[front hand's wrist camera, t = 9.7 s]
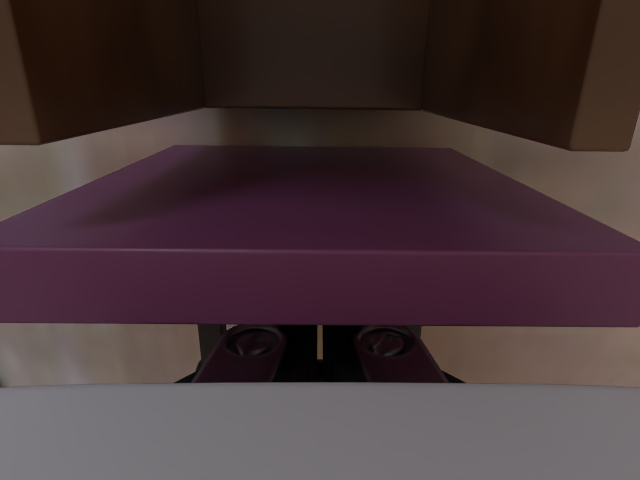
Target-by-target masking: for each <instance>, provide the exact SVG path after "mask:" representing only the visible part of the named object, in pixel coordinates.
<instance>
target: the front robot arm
mask: <svg viewBox="0 0 640 480" xmlns="http://www.w3.org/2000/svg"><path fill="white" fill-rule="evenodd" d="M0 480H640V388H637V387H621V386H593V385H556V384H486V383H465V382H463V381H461V380H459V379H457V378H455V377H453V376H452V375H450V374H448V373H446V372H444V371H442V370H441V369H440V368H439V366H438V365H437V363H436V362H435V360H434V359H433V357H432V355H431V354H430V352H429V351H428V349H427V348H426V346H425V345H424V343H423V342H422V340H421V339H420V337H419V336H418V335H417V334H416V333H415V332H414V331H413V330H411V329H410V328H408V327H406V326H390V325H323V382H317V325H248V324H240V325H237V326H234V327H232V328H230V329H229V330H227V331H226V332H225V333H224V334H223V335H222V336H221V337H220V339H219V340H218V342H217V343H216V345H215V346H214V348H213V349H212V351H211V352H210V354H209V355H208V357H207V359H206V360H205V362H204V363H203V365H202V366H201V368H200V369H199V370H198V371H196V372H194V373H192V374H190V375H188V376H186V377H185V378H183V379H181V380H179V381H177V382H175V383H156V384H80V385H48V386H17V387H3V388H0Z"/></svg>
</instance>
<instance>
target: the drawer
mask: <svg viewBox="0 0 640 480" xmlns="http://www.w3.org/2000/svg"><path fill="white" fill-rule="evenodd" d="M202 108H250V109H334V110H418V111H425V112H428V113H432V114H436V115H439V116H443V117H447V118H451V119H454V120H458V121H462V122H465V123H469V124H473V125H476V126H480V127H484V128H487V129H491V130H495V131H499V132H502V133H506V134H510V135H513V136H517V137H521V138H524V139H528V140H532V141H536V142H539V143H543V144H547V145H550V146H554V147H558V148H561V149H565V150H569V151H602V152H624V151H627V150H628V149H629V148H630V145H631V141H632V137H633V133H634V130H635V126H636V122H637V119H638V115H639V111H640V0H0V145H42V144H47V143H51V142H56V141H60V140H65V139H69V138H73V137H78V136H82V135H87V134H91V133H96V132H100V131H104V130H109V129H113V128H118V127H122V126H127V125H131V124H136V123H140V122H144V121H149V120H153V119H158V118H162V117H167V116H171V115H175V114H180V113H184V112H189V111H193V110H198V109H202ZM0 323H105V324H198V332H199V341H200V351H201V360H200V361H199V363H198V366H197V368H196V371H198V370H199V369H200V368H201V366H202V365H203V363H204V362H205V360H206V359H207V357H208V355H209V354H210V352H211V351H212V349H213V348H214V346H215V345H216V343H217V342H218V340H219V339H220V337H221V336H222V335H223V334H224V333H225V332H226V331H227V330H226V324H248V325H390V326H406V327H408V328H410V329H411V330H413V331H414V332H415V333H416V334H417V335H418V336H419V337H420V336H421V327H422V326H533V327H639V326H640V242H639V241H637V240H635V239H633V238H631V237H629V236H627V235H625V234H623V233H621V232H619V231H617V230H615V229H613V228H611V227H609V226H607V225H605V224H603V223H601V222H599V221H597V220H595V219H593V218H590V217H588V216H586V215H584V214H582V213H580V212H578V211H576V210H574V209H572V208H570V207H568V206H566V205H564V204H562V203H560V202H558V201H556V200H554V199H552V198H550V197H548V196H546V195H544V194H542V193H540V192H538V191H536V190H534V189H532V188H530V187H528V186H526V185H524V184H522V183H520V182H518V181H516V180H514V179H512V178H510V177H508V176H506V175H504V174H501V173H499V172H497V171H495V170H493V169H491V168H489V167H487V166H485V165H483V164H481V163H479V162H477V161H475V160H473V159H471V158H469V157H467V156H465V155H463V154H461V153H459V152H457V151H455V150H453V149H451V148H370V147H279V146H189V145H174V146H172V147H170V148H167V149H165V150H163V151H161V152H158V153H156V154H154V155H152V156H149V157H147V158H145V159H142V160H140V161H138V162H136V163H133V164H131V165H129V166H127V167H124V168H122V169H120V170H117V171H115V172H113V173H111V174H108V175H106V176H104V177H102V178H99V179H97V180H95V181H92V182H90V183H88V184H86V185H83V186H81V187H79V188H77V189H74V190H72V191H70V192H67V193H65V194H63V195H61V196H58V197H56V198H54V199H52V200H49V201H47V202H45V203H42V204H40V205H38V206H36V207H33V208H31V209H29V210H27V211H24V212H22V213H20V214H17V215H15V216H13V217H11V218H8V219H6V220H4V221H2V222H0ZM317 382H323V359H317Z"/></svg>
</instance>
